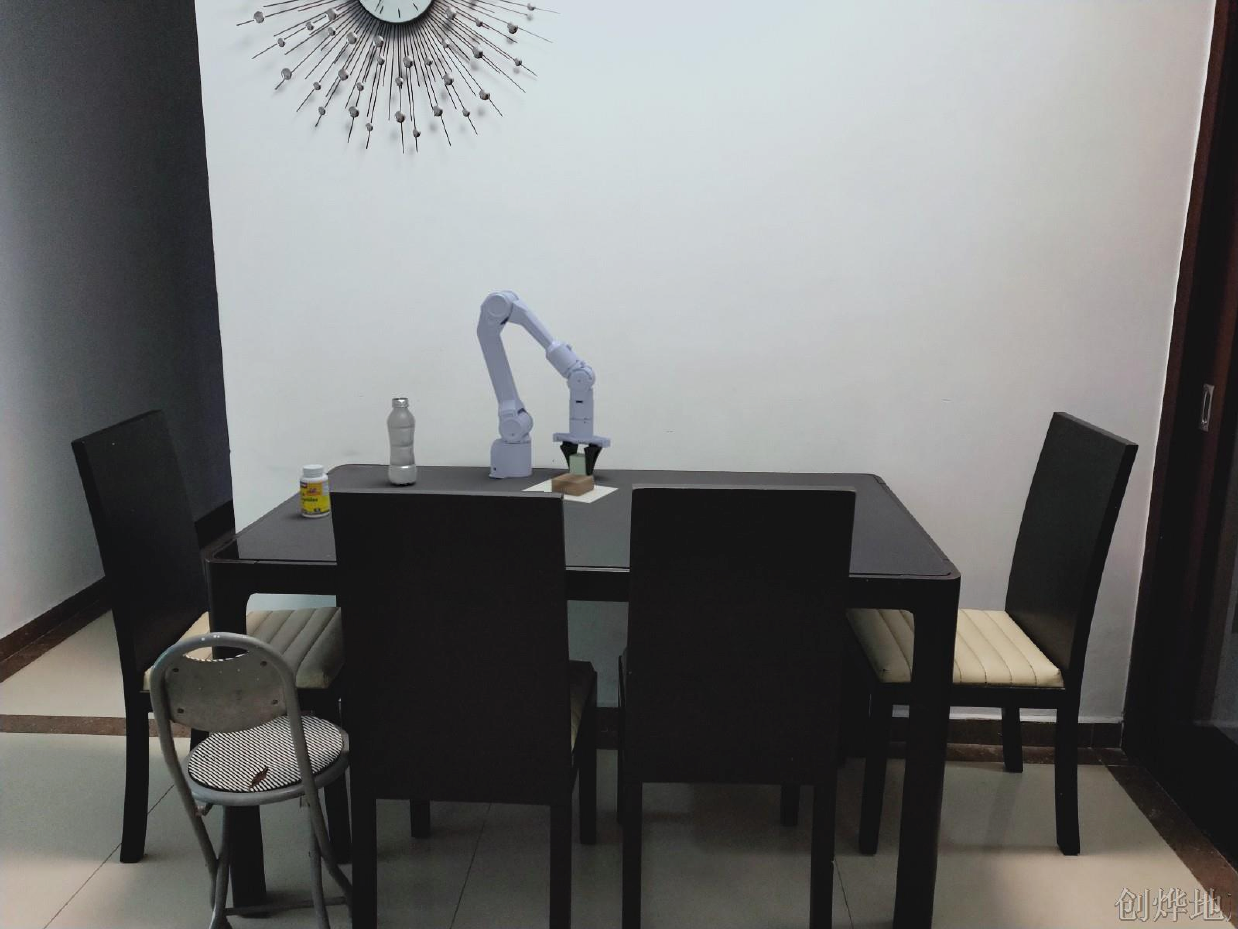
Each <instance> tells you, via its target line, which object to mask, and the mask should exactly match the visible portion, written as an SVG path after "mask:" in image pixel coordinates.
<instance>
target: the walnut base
mask: <svg viewBox="0 0 1238 929" xmlns="http://www.w3.org/2000/svg"><path fill="white" fill-rule="evenodd" d="M550 479H551V492H558V493H563V494H565V495H572V496H581V495H583V494H585V493H587V492H590V491H592V490H594V485H595V476H593V475H592V476H586V475H578V474H571V473H569V472H565V473H564V474H562V475H559V476H556V477H554V478H550Z"/></svg>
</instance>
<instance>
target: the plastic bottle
mask: <svg viewBox="0 0 1238 929" xmlns="http://www.w3.org/2000/svg"><path fill="white" fill-rule="evenodd" d="M391 407H392V408H393V409H392V410H391V412H390V413H389V415H388V417H387V420H386V427H387V433H388V438H389V449H390V452H389V454H390V455H389V465H388V473H387V474H388V477H389V481H390V482H391V483H392V484H393V483H395V485H400V484H405V485H408V484H407V483H410V484H413V483H414V482H415V481H416V480H417V477H418V476H417V475H418V470H417V464H416V459H415V451H414V449H415V447H414V444H415V443H414V442H415V441H414V440H415V429H416V419H415V416H414V415H413V413H412V411H410V410H409V408H408V407H410V404H409V398H408V397H393V398H391Z"/></svg>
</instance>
